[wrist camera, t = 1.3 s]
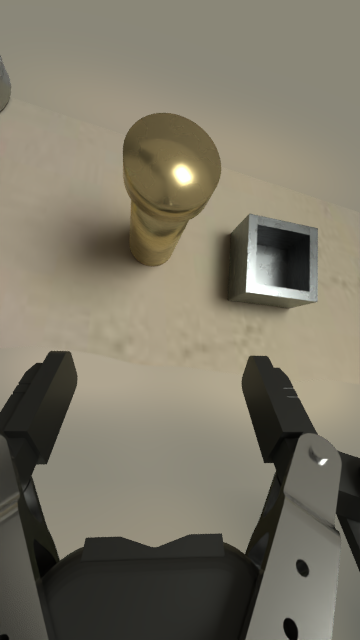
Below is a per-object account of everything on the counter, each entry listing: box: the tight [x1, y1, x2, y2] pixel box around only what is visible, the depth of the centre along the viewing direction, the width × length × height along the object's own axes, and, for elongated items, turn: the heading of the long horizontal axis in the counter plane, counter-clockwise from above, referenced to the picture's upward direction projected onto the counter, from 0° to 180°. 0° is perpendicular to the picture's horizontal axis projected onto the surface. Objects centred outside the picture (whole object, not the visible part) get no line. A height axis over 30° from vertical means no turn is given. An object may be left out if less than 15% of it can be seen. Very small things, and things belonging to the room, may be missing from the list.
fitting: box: [123, 113, 221, 266], centre depth 21 cm, size 6×6×13 cm
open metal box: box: [228, 214, 318, 308], centre depth 28 cm, size 9×9×4 cm
